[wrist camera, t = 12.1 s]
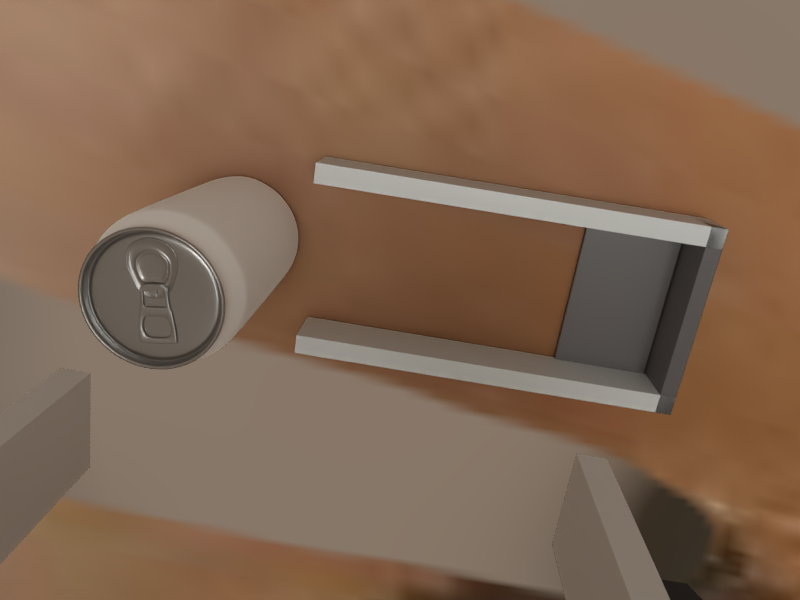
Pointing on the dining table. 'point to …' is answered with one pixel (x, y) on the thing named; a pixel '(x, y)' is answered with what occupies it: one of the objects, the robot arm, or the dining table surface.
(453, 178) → the grey flat u-shaped frame
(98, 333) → the can
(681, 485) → the dining table surface
